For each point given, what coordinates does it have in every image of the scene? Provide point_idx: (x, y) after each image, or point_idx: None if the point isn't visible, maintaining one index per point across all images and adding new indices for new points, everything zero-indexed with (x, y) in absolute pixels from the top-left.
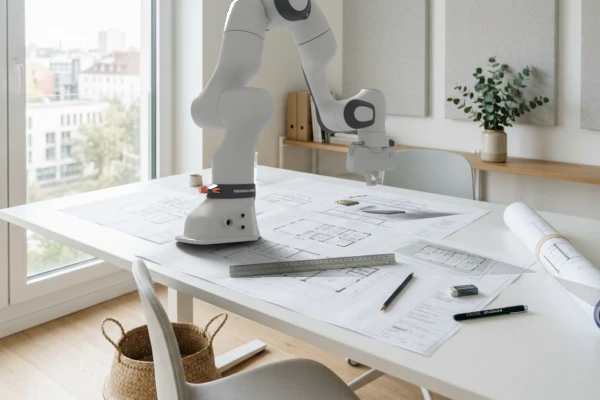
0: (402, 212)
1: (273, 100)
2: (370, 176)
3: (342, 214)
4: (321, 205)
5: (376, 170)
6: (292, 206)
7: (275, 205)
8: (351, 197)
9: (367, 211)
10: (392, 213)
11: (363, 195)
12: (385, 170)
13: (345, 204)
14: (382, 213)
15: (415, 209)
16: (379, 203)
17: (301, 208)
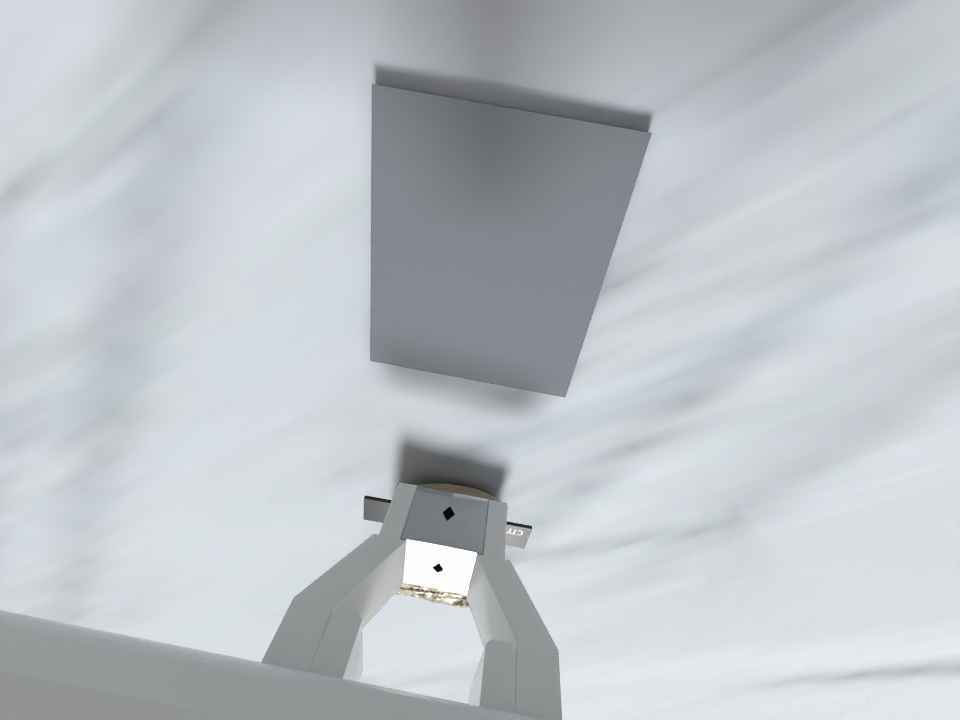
0: (416, 92)
1: None
2: (515, 614)
3: (787, 408)
4: (365, 633)
5: (382, 695)
6: None
7: None
8: (529, 531)
9: (582, 341)
10: (564, 118)
11: (378, 517)
12: (97, 633)
13: None
14: (632, 187)
15: (95, 168)
16: (66, 516)
17: None
